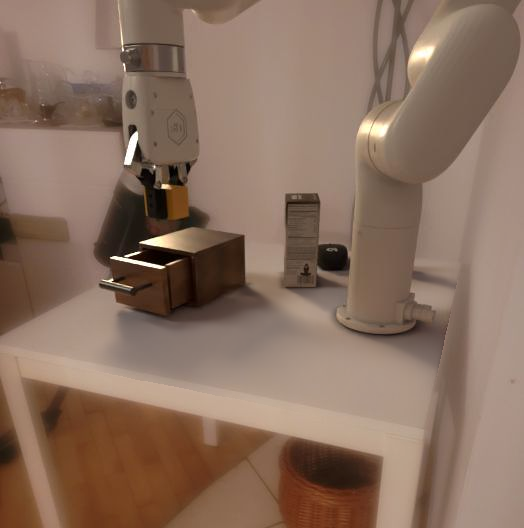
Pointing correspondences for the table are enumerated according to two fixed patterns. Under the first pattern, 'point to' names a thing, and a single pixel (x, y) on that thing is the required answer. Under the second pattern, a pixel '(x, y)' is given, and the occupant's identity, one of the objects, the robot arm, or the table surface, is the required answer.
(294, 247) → the coffee box
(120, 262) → the drawer
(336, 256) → the computer mouse
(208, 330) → the table surface
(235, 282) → the cabinet
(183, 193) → the orange block
